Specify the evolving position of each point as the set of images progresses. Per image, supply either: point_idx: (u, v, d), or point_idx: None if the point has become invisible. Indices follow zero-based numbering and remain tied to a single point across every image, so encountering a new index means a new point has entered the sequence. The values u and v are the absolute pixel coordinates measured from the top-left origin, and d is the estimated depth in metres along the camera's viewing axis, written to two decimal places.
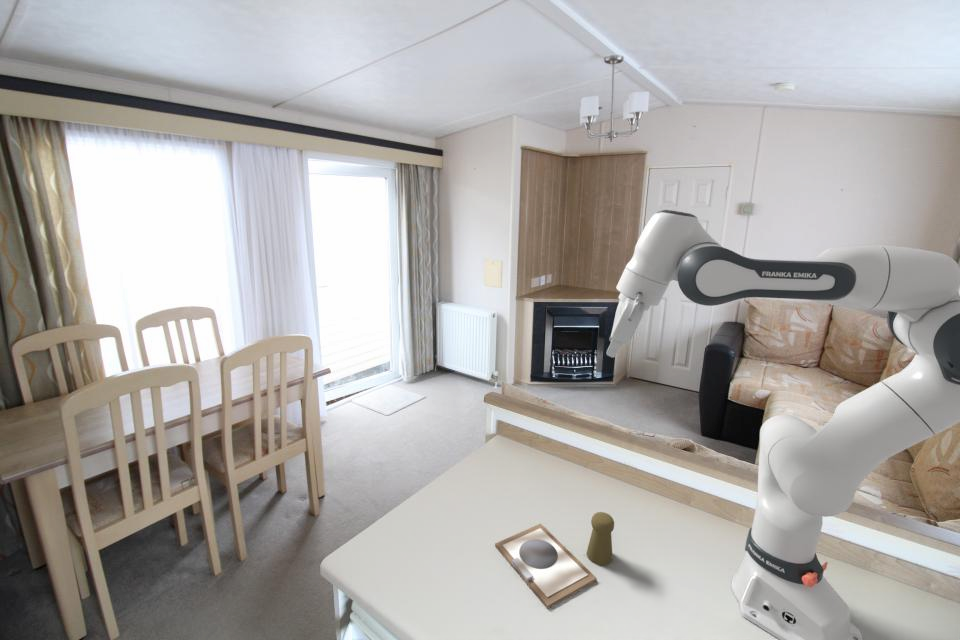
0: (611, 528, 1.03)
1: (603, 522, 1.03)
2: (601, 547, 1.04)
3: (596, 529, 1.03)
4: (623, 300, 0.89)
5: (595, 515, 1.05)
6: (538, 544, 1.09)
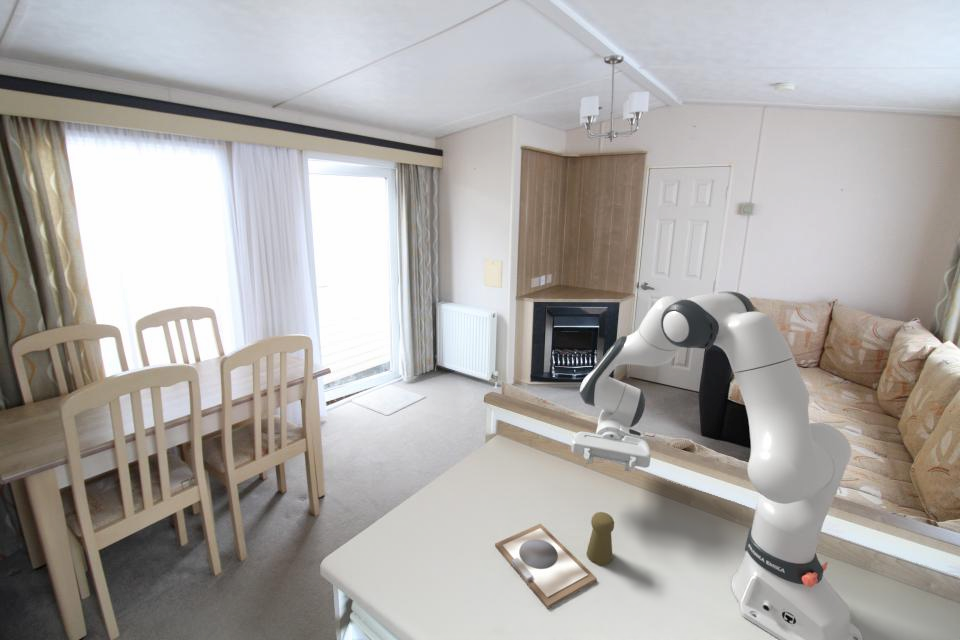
0: (611, 528, 1.03)
1: (603, 522, 1.03)
2: (601, 547, 1.04)
3: (596, 529, 1.03)
4: None
5: (595, 515, 1.05)
6: (538, 544, 1.09)
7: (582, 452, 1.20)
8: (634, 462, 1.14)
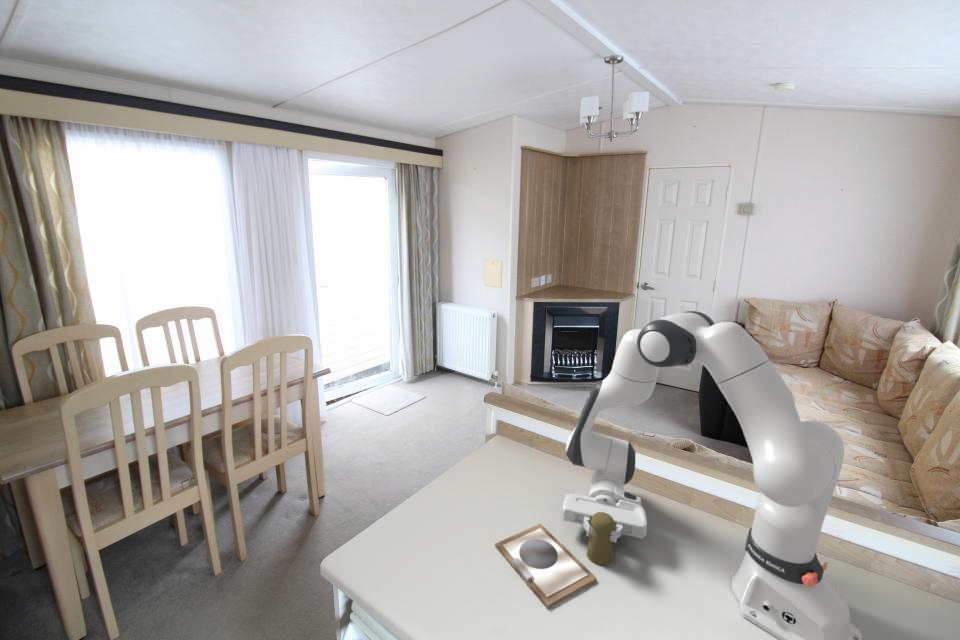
0: (611, 528, 1.03)
1: (603, 522, 1.03)
2: (601, 547, 1.04)
3: (596, 529, 1.03)
4: None
5: (595, 515, 1.05)
6: (538, 544, 1.09)
7: (573, 519, 1.11)
8: (620, 531, 1.06)
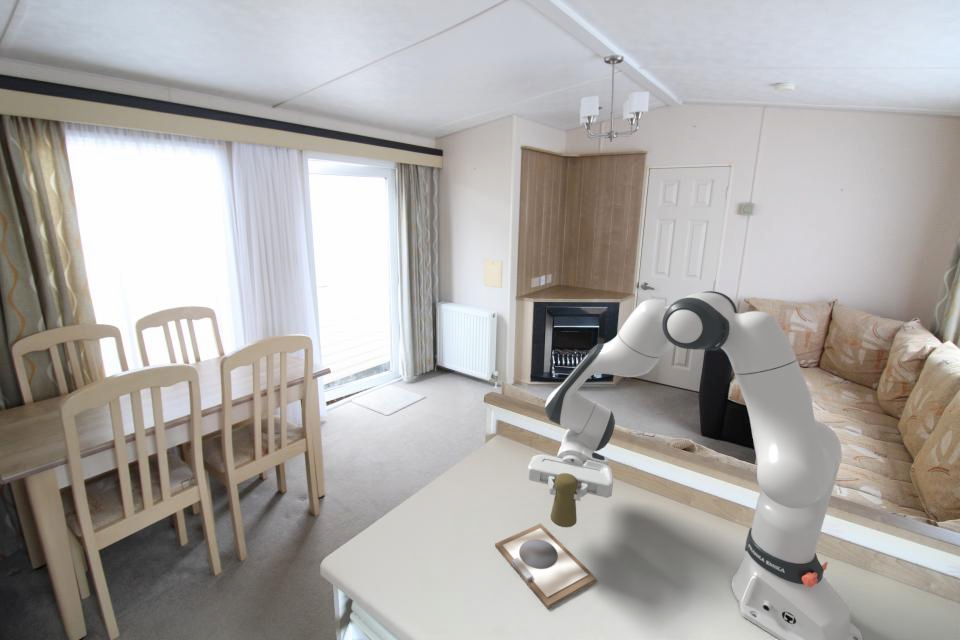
0: (574, 488, 1.00)
1: (566, 482, 1.00)
2: (564, 508, 1.01)
3: (559, 489, 1.01)
4: None
5: (559, 476, 1.02)
6: (538, 544, 1.09)
7: (538, 479, 1.09)
8: (585, 490, 1.03)
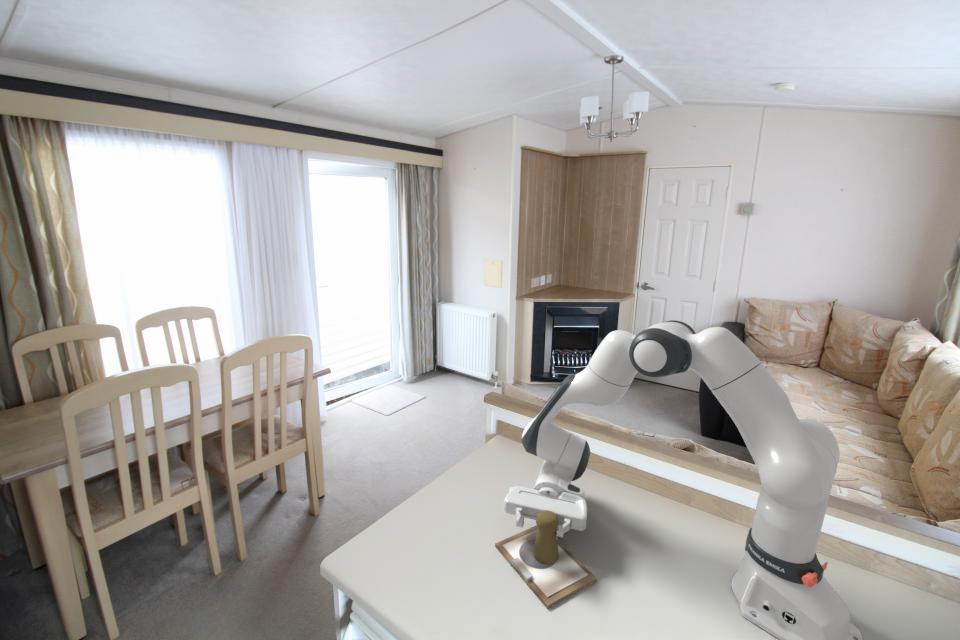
0: (555, 526, 1.01)
1: (546, 520, 1.01)
2: (546, 546, 1.02)
3: (540, 528, 1.02)
4: None
5: (539, 513, 1.04)
6: None
7: (514, 511, 1.10)
8: (568, 526, 1.04)
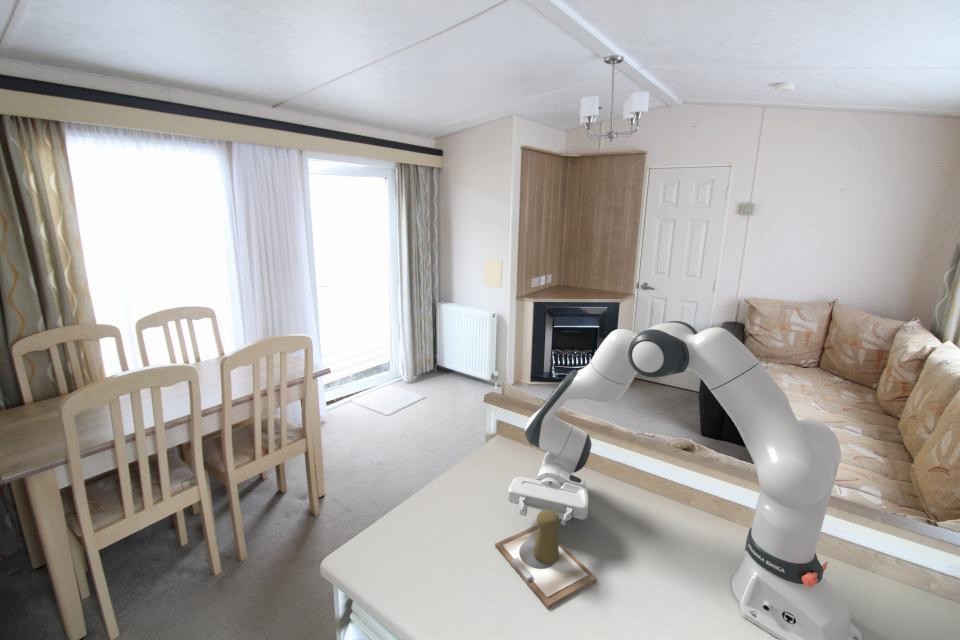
0: (556, 525, 1.02)
1: (547, 520, 1.02)
2: (547, 545, 1.02)
3: (541, 527, 1.02)
4: None
5: (540, 513, 1.04)
6: None
7: (518, 501, 1.14)
8: (570, 514, 1.08)
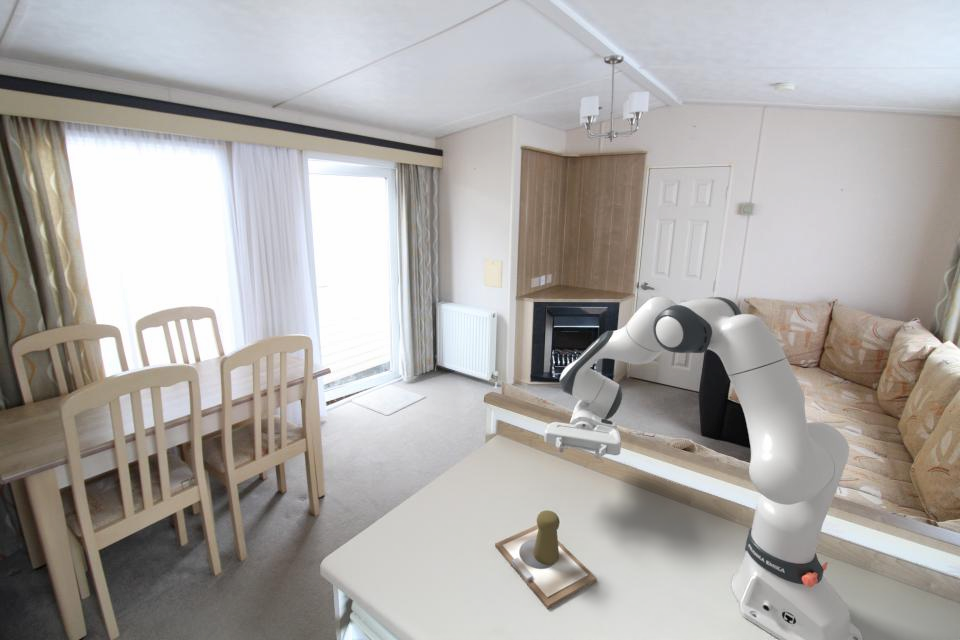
0: (556, 526, 1.01)
1: (547, 521, 1.01)
2: (547, 546, 1.02)
3: (541, 528, 1.02)
4: None
5: (540, 514, 1.04)
6: None
7: (554, 441, 1.22)
8: (604, 450, 1.16)
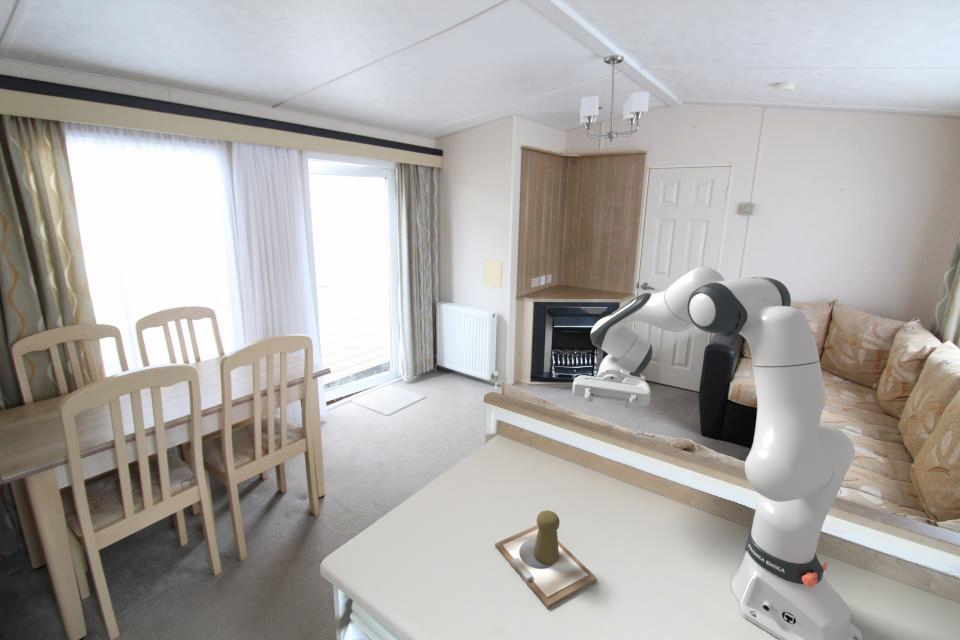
0: (556, 526, 1.01)
1: (547, 521, 1.01)
2: (547, 546, 1.02)
3: (541, 528, 1.02)
4: None
5: (540, 514, 1.04)
6: None
7: (583, 392, 1.22)
8: (634, 399, 1.16)
